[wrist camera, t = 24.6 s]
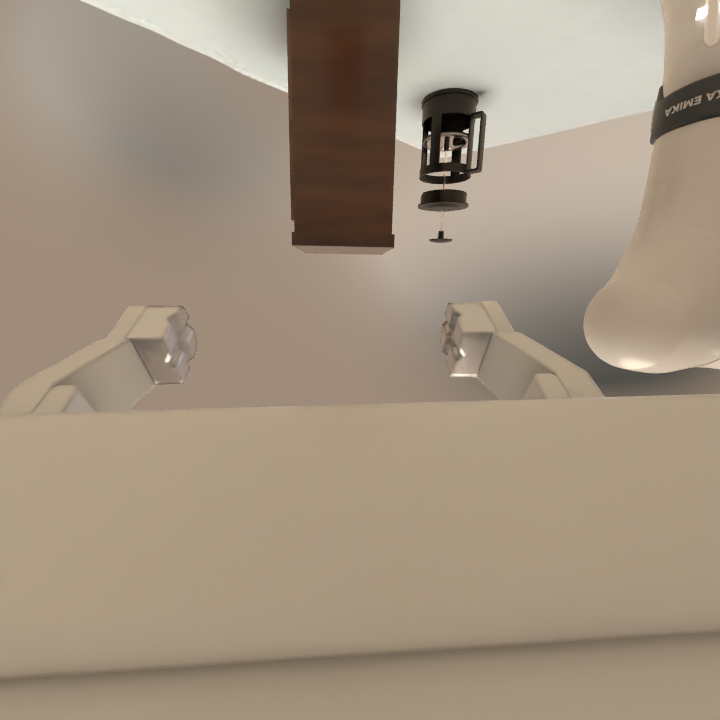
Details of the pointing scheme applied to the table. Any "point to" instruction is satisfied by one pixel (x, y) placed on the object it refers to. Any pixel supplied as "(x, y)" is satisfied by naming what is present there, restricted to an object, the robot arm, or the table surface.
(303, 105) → the cabinet
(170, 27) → the table surface
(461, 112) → the french press
